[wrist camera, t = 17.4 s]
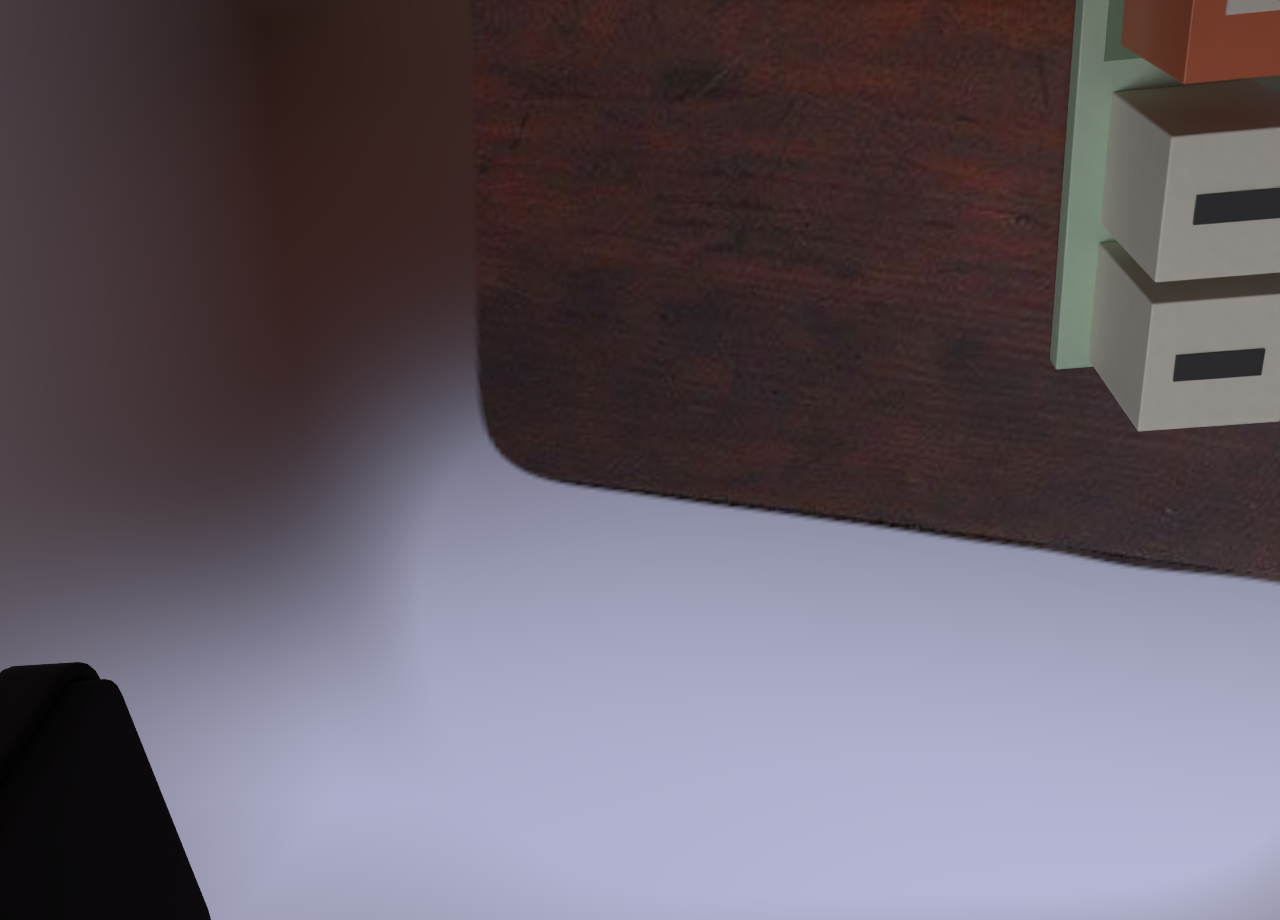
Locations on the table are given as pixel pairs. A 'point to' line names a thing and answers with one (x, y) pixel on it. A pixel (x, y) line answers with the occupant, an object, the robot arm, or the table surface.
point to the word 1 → (1169, 235)
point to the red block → (1205, 37)
